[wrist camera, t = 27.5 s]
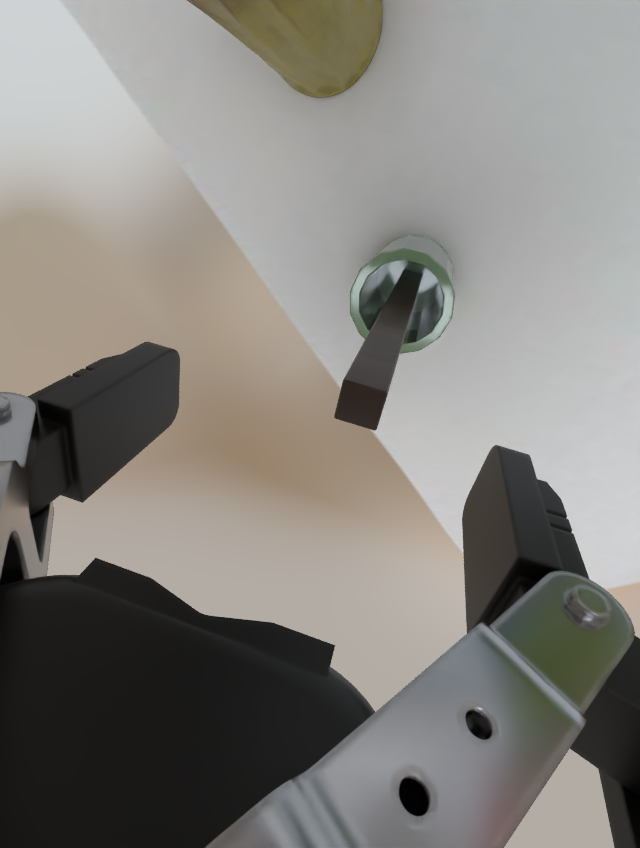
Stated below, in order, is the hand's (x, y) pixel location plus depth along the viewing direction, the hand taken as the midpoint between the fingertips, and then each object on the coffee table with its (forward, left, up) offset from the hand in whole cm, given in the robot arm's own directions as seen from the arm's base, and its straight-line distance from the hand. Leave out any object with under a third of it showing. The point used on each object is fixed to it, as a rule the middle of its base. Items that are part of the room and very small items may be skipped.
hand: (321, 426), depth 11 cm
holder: (0, +1, -20) cm, 20 cm away
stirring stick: (0, +1, -19) cm, 19 cm away
